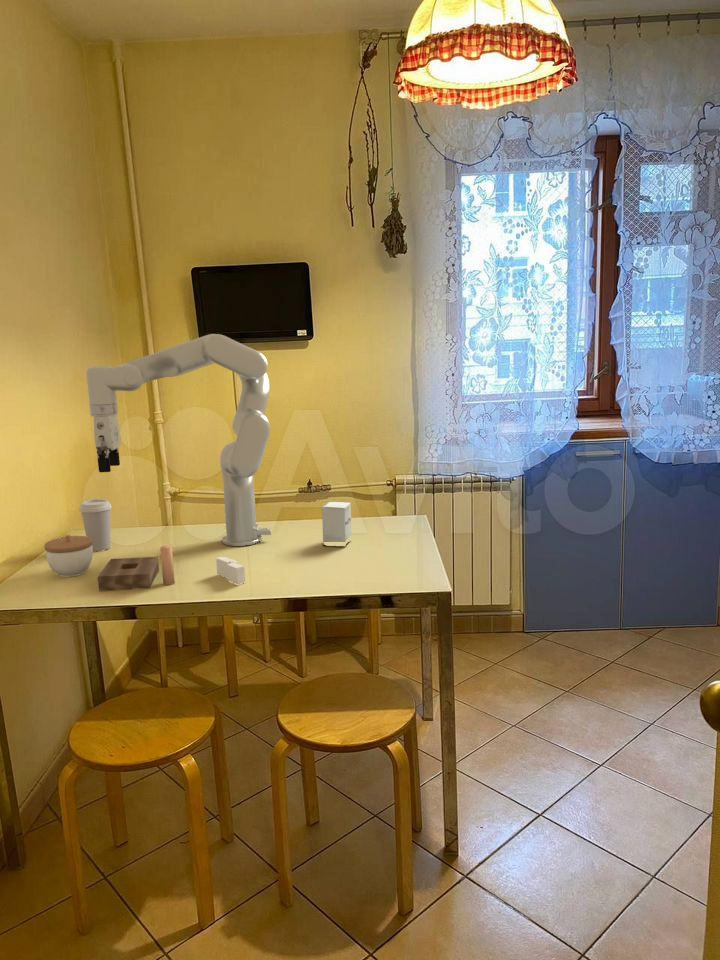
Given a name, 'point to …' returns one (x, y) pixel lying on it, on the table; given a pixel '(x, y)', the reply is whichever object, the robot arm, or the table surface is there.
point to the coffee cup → (97, 522)
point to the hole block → (128, 573)
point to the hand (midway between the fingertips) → (109, 468)
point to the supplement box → (336, 521)
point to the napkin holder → (230, 569)
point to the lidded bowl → (69, 555)
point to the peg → (167, 565)
